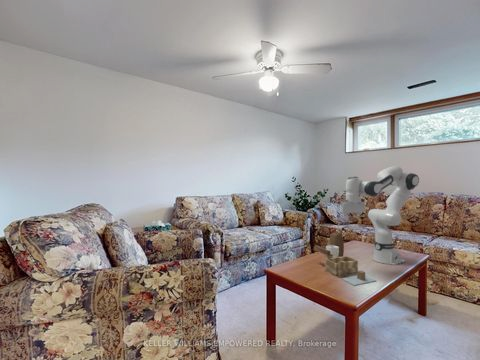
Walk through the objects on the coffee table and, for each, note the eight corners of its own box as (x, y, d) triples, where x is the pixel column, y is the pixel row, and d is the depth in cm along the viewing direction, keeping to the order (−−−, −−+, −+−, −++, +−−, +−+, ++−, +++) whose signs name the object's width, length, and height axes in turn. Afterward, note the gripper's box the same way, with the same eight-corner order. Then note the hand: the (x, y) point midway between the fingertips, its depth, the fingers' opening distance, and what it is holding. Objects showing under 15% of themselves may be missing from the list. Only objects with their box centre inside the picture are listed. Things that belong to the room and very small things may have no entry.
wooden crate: (344, 266, 168) (344, 252, 168) (359, 273, 156) (359, 258, 156) (323, 269, 163) (323, 254, 163) (337, 277, 150) (337, 261, 150)
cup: (332, 265, 170) (332, 249, 170) (323, 261, 179) (323, 245, 178) (341, 263, 174) (341, 247, 174) (332, 259, 182) (332, 244, 182)
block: (336, 260, 180) (336, 234, 180) (328, 258, 186) (328, 232, 186) (345, 258, 186) (345, 233, 186) (336, 255, 192) (337, 231, 192)
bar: (316, 249, 178) (316, 245, 178) (330, 255, 164) (330, 251, 164) (314, 249, 177) (314, 245, 177) (327, 255, 163) (327, 251, 163)
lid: (363, 276, 153) (363, 267, 153) (376, 282, 144) (376, 273, 144) (341, 280, 147) (341, 271, 147) (353, 286, 138) (353, 277, 138)
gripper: (344, 200, 162) (343, 220, 162) (367, 199, 168) (367, 218, 168) (337, 199, 168) (337, 218, 168) (360, 198, 174) (360, 217, 174)
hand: (352, 218), depth 168 cm, fingers open, 8 cm apart
